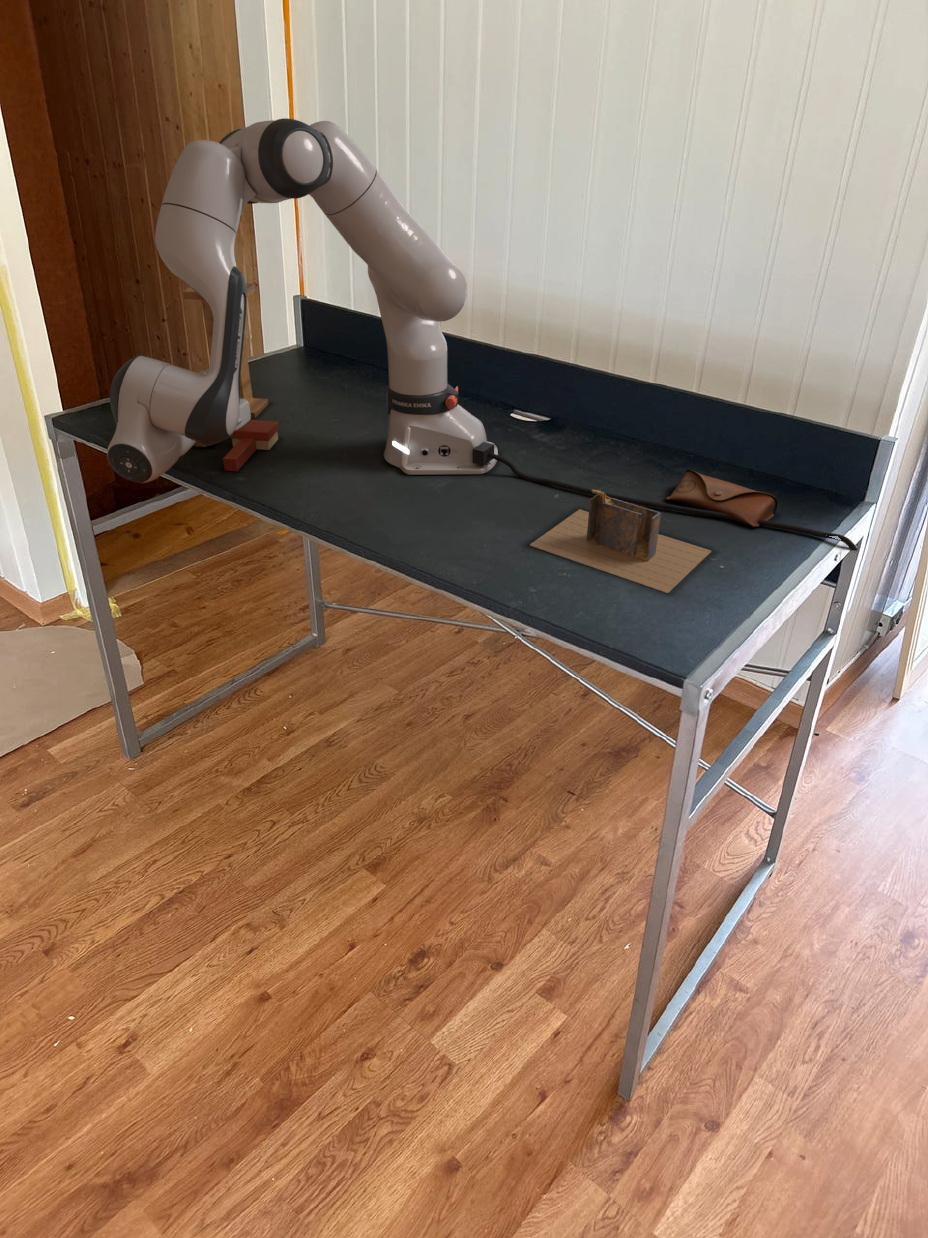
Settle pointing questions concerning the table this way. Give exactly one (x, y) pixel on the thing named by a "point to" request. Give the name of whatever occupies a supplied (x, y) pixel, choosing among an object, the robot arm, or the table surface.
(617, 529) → the ruin model on sheet
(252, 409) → the stand
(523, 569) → the table surface
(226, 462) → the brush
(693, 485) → the sunglasses case
